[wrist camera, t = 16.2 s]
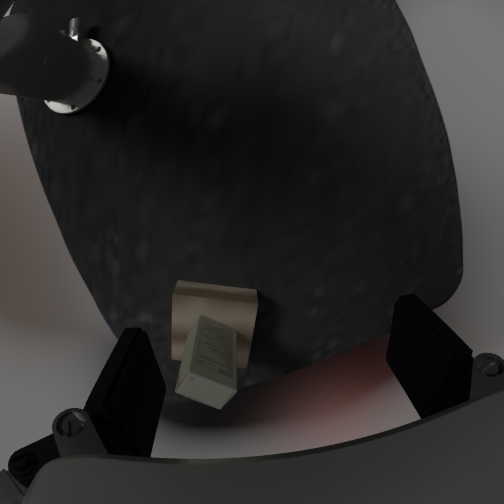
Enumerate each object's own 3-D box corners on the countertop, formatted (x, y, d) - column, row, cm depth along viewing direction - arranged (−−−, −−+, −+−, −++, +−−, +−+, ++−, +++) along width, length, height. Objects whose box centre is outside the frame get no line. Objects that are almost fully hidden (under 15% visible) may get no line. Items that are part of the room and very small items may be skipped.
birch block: (178, 279, 45) (172, 293, 40) (256, 288, 46) (258, 303, 41) (176, 341, 48) (171, 359, 44) (245, 349, 49) (246, 368, 45)
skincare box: (187, 333, 42) (171, 391, 31) (200, 312, 41) (185, 369, 29) (225, 351, 43) (220, 411, 32) (239, 332, 42) (237, 391, 31)
